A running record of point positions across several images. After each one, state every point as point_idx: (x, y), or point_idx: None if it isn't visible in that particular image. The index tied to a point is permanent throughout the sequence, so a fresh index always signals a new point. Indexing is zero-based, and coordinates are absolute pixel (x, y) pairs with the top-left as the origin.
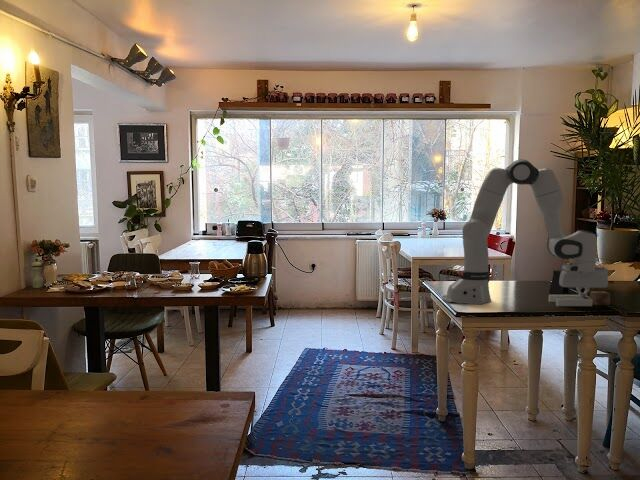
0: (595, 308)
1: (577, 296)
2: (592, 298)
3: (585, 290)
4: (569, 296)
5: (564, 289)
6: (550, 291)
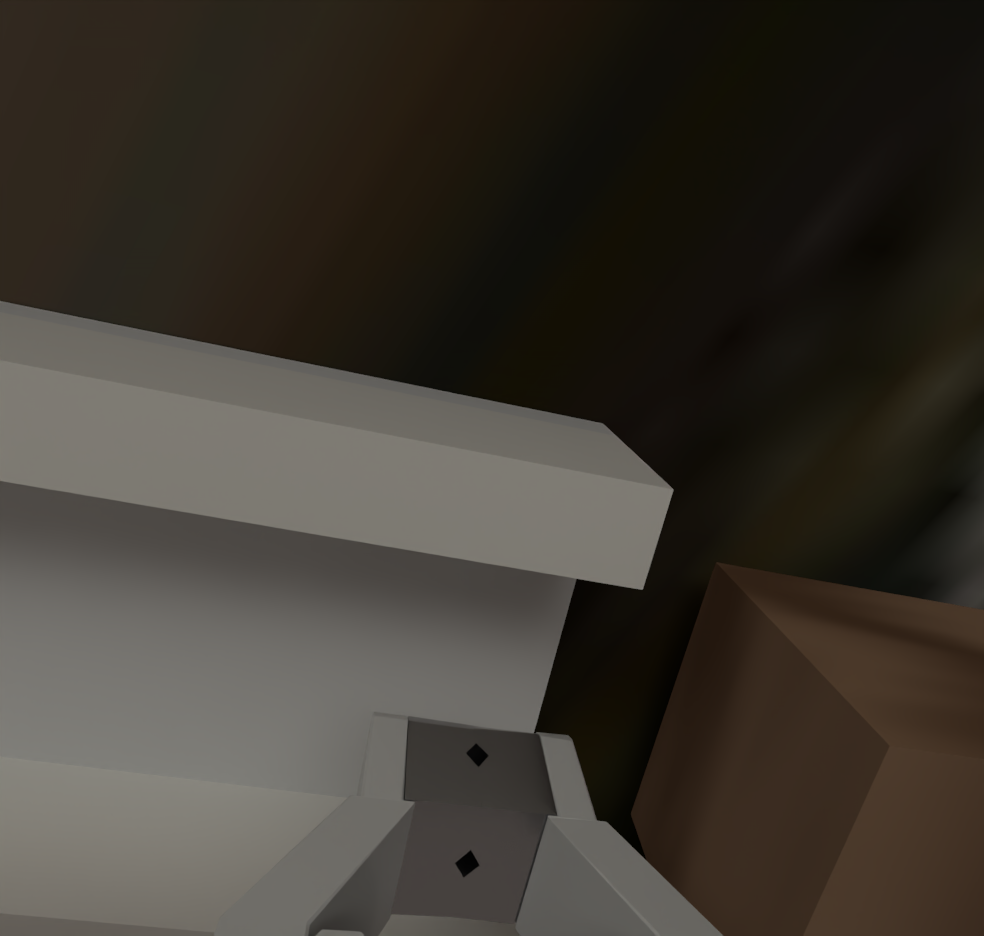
0: None
1: (451, 539)
2: (721, 753)
3: (609, 922)
4: (186, 500)
5: None
6: None
